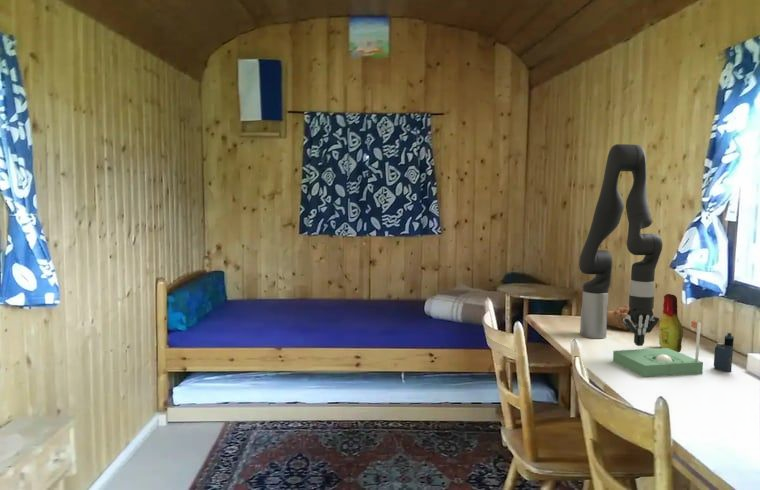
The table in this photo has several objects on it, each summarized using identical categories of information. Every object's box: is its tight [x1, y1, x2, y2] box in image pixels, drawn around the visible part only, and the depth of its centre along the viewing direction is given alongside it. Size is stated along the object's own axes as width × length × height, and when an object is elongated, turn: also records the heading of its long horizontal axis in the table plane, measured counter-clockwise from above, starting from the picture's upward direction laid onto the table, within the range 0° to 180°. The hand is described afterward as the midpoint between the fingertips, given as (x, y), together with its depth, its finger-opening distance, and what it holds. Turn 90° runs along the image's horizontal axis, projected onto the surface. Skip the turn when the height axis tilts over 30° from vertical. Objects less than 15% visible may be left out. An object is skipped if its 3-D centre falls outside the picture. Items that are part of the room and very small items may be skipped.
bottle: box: [658, 293, 684, 353], centre depth 200 cm, size 12×6×20 cm, turn 172°
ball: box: [655, 354, 673, 362], centre depth 178 cm, size 5×5×5 cm
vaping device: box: [713, 332, 735, 373], centre depth 179 cm, size 3×5×12 cm, turn 28°
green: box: [612, 320, 704, 378], centre depth 181 cm, size 16×20×16 cm
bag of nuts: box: [607, 305, 632, 331], centre depth 233 cm, size 19×11×15 cm
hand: (638, 345), depth 190 cm, fingers closed
